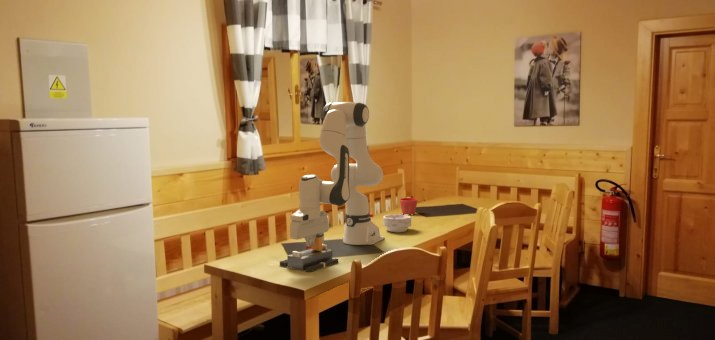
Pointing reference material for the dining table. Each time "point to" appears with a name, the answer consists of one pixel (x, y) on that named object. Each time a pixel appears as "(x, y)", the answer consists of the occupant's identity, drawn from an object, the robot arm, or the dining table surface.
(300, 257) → the grey machine base
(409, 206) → the flower pot
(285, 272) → the dining table surface
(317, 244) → the orange upright block
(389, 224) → the paper bowls
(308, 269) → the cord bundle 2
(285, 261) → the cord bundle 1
